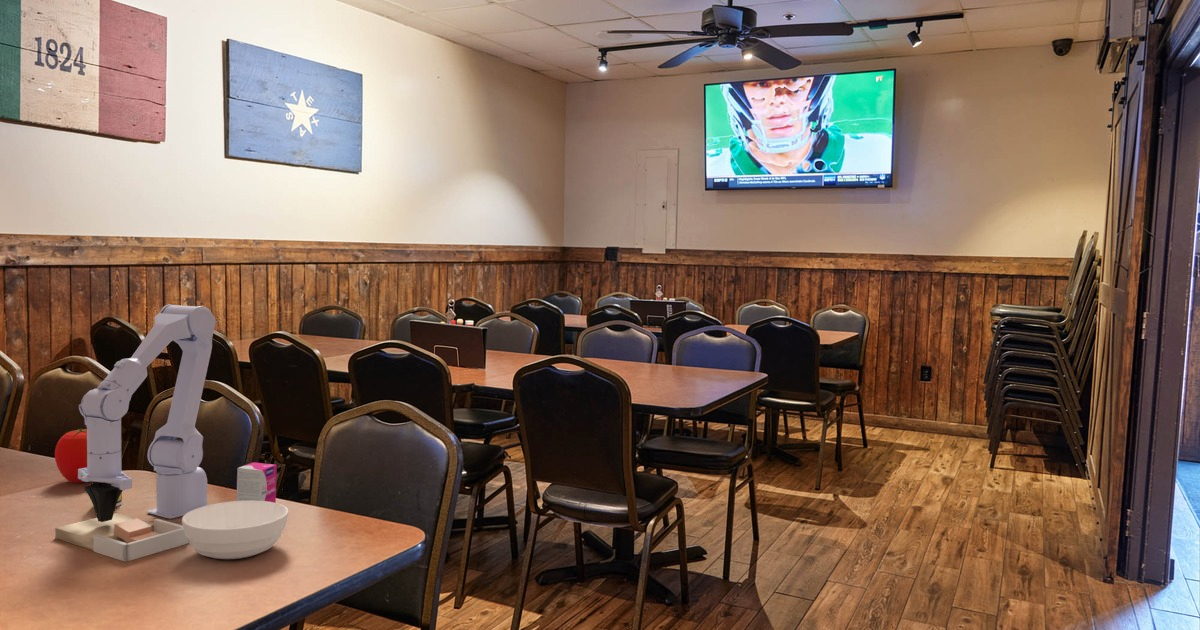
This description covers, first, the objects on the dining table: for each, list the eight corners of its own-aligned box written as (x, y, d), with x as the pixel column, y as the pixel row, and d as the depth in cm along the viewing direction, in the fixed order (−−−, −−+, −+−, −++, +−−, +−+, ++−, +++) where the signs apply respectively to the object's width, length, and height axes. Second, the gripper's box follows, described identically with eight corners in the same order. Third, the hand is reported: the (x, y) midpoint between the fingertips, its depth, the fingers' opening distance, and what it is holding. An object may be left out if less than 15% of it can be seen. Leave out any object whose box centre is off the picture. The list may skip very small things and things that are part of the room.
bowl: (308, 544, 167) (309, 507, 167) (240, 575, 150) (240, 534, 150) (232, 531, 173) (232, 496, 173) (158, 560, 156) (158, 521, 156)
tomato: (77, 474, 213) (76, 422, 212) (118, 477, 212) (118, 425, 211) (43, 486, 201) (42, 431, 201) (86, 489, 200) (86, 434, 199)
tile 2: (150, 541, 165) (150, 531, 165) (165, 546, 163) (165, 535, 163) (127, 548, 161) (127, 537, 161) (142, 552, 159) (142, 542, 159)
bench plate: (116, 522, 177) (116, 512, 176) (156, 534, 170) (156, 524, 170) (55, 538, 166) (55, 527, 166) (95, 551, 160) (95, 540, 160)
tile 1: (136, 527, 167) (137, 518, 167) (150, 536, 165) (151, 526, 165) (113, 534, 163) (114, 524, 163) (127, 542, 161) (128, 532, 161)
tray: (157, 533, 170) (157, 518, 170) (189, 542, 166) (189, 527, 166) (93, 551, 160) (93, 535, 159) (125, 561, 155) (125, 545, 155)
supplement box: (261, 525, 178) (261, 470, 177) (235, 522, 179) (235, 467, 178) (276, 517, 183) (277, 463, 183) (251, 514, 185) (251, 461, 184)
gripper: (61, 449, 167) (62, 518, 168) (106, 460, 160) (106, 532, 161) (98, 443, 174) (98, 510, 174) (142, 453, 166) (142, 522, 167)
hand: (105, 520), depth 168 cm, fingers closed
